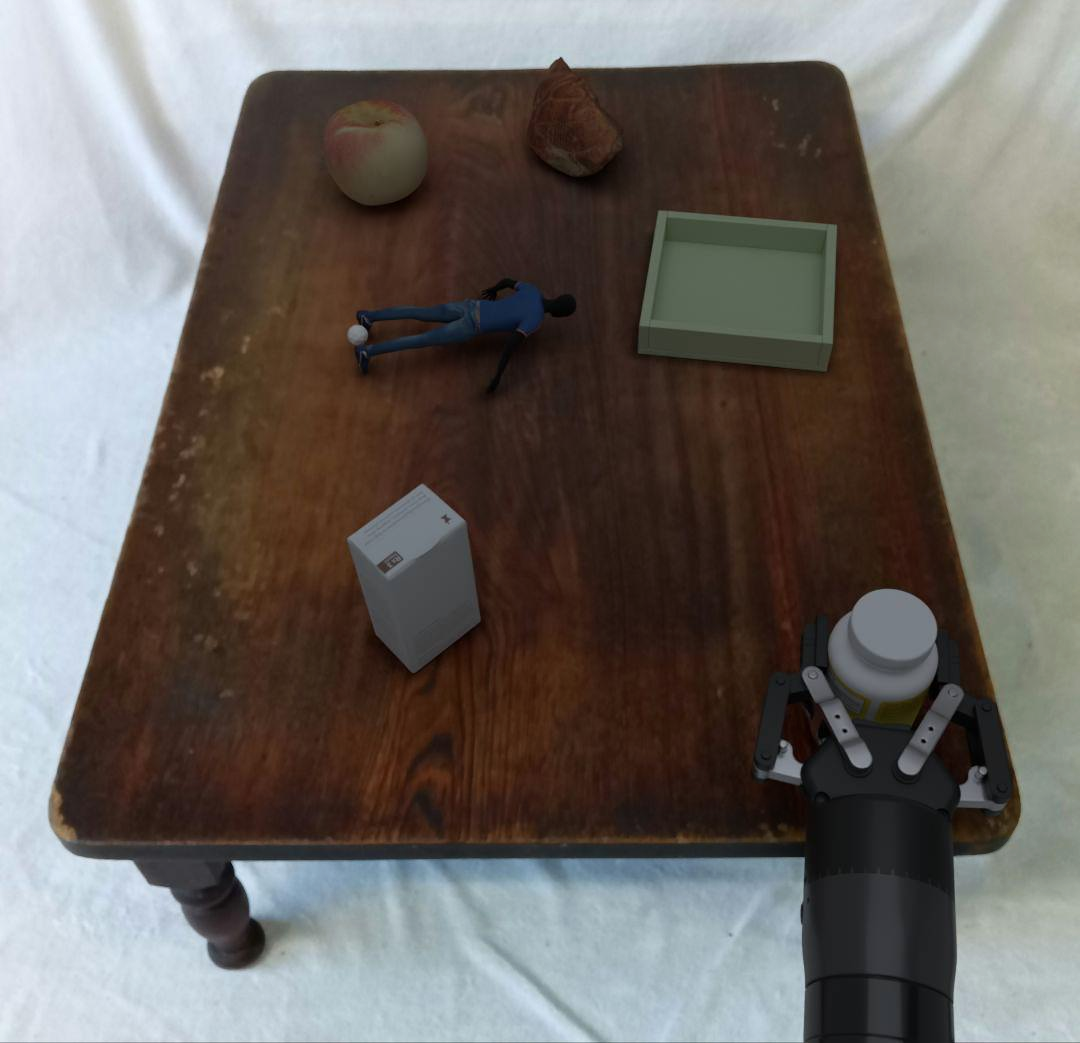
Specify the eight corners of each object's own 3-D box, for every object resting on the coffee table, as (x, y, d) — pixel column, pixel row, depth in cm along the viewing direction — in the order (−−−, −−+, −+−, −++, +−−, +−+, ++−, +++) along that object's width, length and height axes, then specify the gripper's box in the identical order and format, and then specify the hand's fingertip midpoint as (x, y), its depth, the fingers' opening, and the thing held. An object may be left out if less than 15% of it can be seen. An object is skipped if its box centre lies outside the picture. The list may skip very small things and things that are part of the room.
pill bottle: (913, 684, 76) (957, 589, 67) (904, 772, 72) (948, 683, 63) (815, 663, 77) (845, 566, 68) (801, 748, 73) (831, 658, 64)
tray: (830, 253, 100) (837, 224, 97) (826, 372, 92) (833, 343, 89) (656, 238, 101) (658, 209, 99) (637, 353, 94) (638, 325, 91)
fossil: (522, 68, 111) (569, 6, 102) (601, 97, 114) (654, 39, 105) (508, 190, 107) (556, 137, 99) (591, 216, 111) (644, 167, 102)
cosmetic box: (442, 584, 81) (422, 474, 72) (485, 625, 79) (471, 517, 70) (371, 638, 79) (340, 532, 69) (413, 682, 77) (388, 579, 67)
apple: (315, 190, 107) (298, 112, 100) (395, 148, 110) (383, 70, 103) (372, 238, 103) (357, 160, 96) (453, 192, 106) (444, 115, 99)
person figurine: (358, 419, 93) (587, 383, 91) (340, 380, 89) (578, 342, 87) (363, 319, 99) (577, 283, 97) (347, 279, 95) (568, 241, 93)
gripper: (1046, 903, 57) (1022, 609, 67) (744, 859, 59) (763, 579, 69) (1003, 951, 63) (986, 675, 73) (729, 909, 65) (749, 645, 75)
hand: (878, 629), depth 71 cm, fingers closed on pill bottle, 6 cm apart
